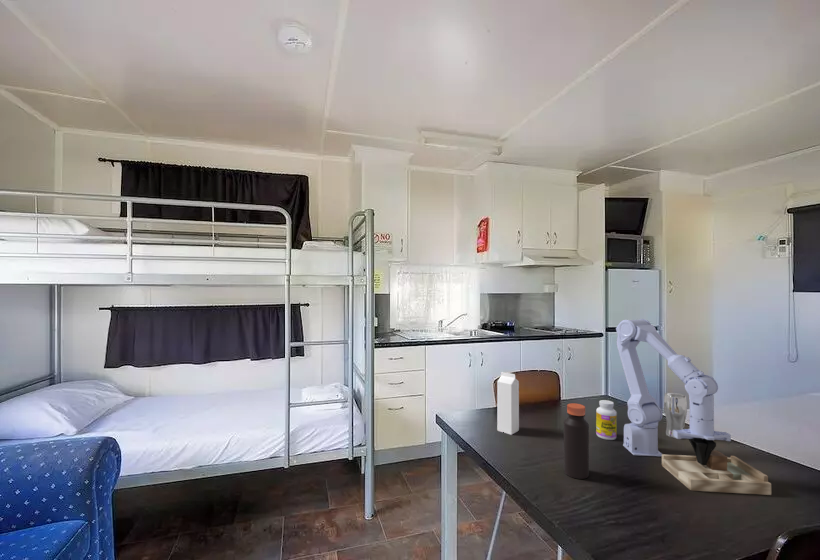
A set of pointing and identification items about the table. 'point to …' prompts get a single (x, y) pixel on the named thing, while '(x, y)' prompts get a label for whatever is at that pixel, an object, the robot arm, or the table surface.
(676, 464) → the tray
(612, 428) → the supplement bottle
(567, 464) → the vinegar
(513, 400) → the milk
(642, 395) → the robot arm
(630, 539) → the table surface
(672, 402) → the beer glass
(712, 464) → the walnut block
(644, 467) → the table surface
